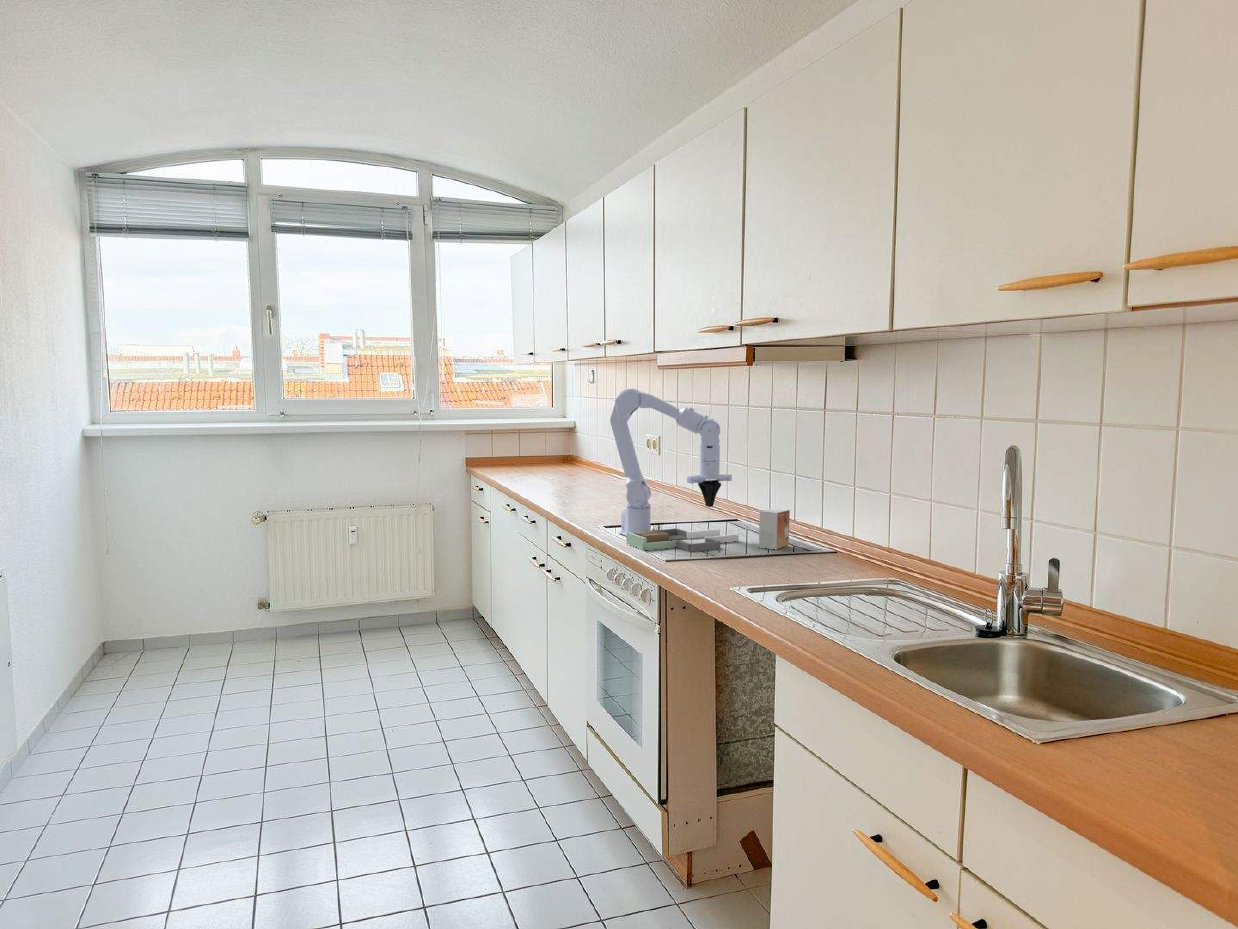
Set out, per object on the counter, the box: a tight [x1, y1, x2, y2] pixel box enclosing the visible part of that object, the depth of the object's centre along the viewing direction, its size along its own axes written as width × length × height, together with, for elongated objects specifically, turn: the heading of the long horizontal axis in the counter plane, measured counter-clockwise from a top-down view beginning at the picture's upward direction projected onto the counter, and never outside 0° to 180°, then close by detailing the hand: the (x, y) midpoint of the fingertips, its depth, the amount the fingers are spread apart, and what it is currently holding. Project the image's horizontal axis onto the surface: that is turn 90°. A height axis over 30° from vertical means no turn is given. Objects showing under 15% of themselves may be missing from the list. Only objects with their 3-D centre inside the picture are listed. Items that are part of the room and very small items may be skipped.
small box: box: [758, 507, 791, 551], centre depth 237 cm, size 8×6×10 cm
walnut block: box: [634, 529, 669, 543], centre depth 238 cm, size 6×8×4 cm
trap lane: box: [626, 527, 739, 553], centre depth 243 cm, size 23×32×4 cm
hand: (709, 506), depth 250 cm, fingers closed
